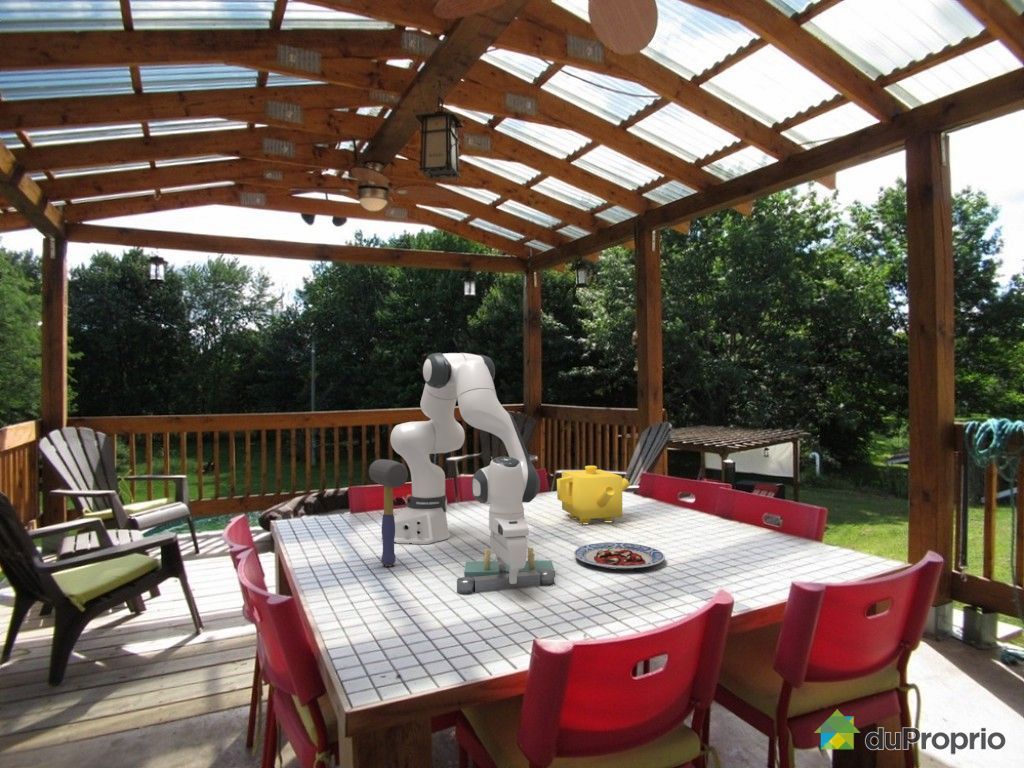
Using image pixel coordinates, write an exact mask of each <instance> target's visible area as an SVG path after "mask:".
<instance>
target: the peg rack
mask: <svg viewBox="0 0 1024 768" xmlns="http://www.w3.org/2000/svg"><path fill="white" fill-rule="evenodd" d="M535 556H536V555H535V553H534V548H533V547H527V560H526V565H525V567H524V568H523V569H519V571H518V573H520V572H530V571H538V570H542V569H549V570H553V571H554V578H555V577H556V571H555V567H554V565H553V561H552V560H550V559H542V560H539V559H538V560H535ZM483 560H484V561H483ZM483 560H481V561H480V560H477V561H476V560H475V561H474V560H472V561H471V560H470V561H467V560H466V561H465V566H464V572H463V573H464V575H463V577H479V576H489V575H499V574H509V567H508V566H507V565H506V564H505V565H506V572H505V573H500V572H499V571H498V563H497V560H491V547H490V548H489V547H487V548H486V547H485V548H484V559H483Z"/></svg>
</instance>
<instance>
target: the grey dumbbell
mask: <svg viewBox="0 0 1024 768" xmlns="http://www.w3.org/2000/svg"><path fill="white" fill-rule="evenodd" d="M508 575H509V574H499V575H489V576H479V577H464V576H461V577H459V578H457V579H456V593H457V594H458V595H463V596H464V595H465V596H468V595H472V594H474V593H476V594H477V593H486V592H494V591H495V592H496V591H505V590H514V589H524V588H534V587H540V586H542V587H551V585H552V586H554V585H555V577H554V571H553V570H549V569H542V570H538V571H530V572H520V573H518V574H517V583H515V584H510V583H509V581H508ZM553 584H554V585H553Z"/></svg>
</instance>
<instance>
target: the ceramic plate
mask: <svg viewBox="0 0 1024 768" xmlns="http://www.w3.org/2000/svg"><path fill="white" fill-rule="evenodd" d="M573 554H574V556H575V558H576V559H577V560H578V561H581V562H583V563H586V564H589V565H592V566H596V567H600V566H602V567H601V568H604V567H608V568H607V569H609V568H616V569H615V570H635V569H634V568H637V569H641V568H647V567H652V566H655V565H658V564H661V563H662V562H663V561H665V556H666V555H665V553H664V552H662V551H660V549H657V548H654V547H651V546H648V545H644V544H637V543H631V542H616V541H615V542H600V543H599V542H598V543H597V542H596V543H591V544H586V545H583V546H580V547H578V548H577V549H576V550H575V551H574V553H573Z"/></svg>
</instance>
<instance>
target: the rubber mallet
mask: <svg viewBox="0 0 1024 768" xmlns="http://www.w3.org/2000/svg"><path fill="white" fill-rule="evenodd" d="M368 475H369V478H370V480H372V481H373V482H374V483H376V484H379V485H380V486H383V514H382V519H381V540H382V539H383V541H382V553H381V558H380V559H381V560H380V562H381V563H382V565H383V566H384V565H385V566H384V567H387V566H389V567H392V565H393V566H395V563H396V561H397V559H396V553H395V543H394V538H395V520H394V517H395V515H394V489H396V488H401V487H402V486H404V485H405V483H406V482H407V480H408V478H409V477H408V476H409V472H408V469H407V467H406V466H405V464H403V463H400V462H398V461H395V460H392V459H384V458H382V459H381V458H380V459H376V460H374V461H373V462H372V463H371V464H370V465H369V468H368Z"/></svg>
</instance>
